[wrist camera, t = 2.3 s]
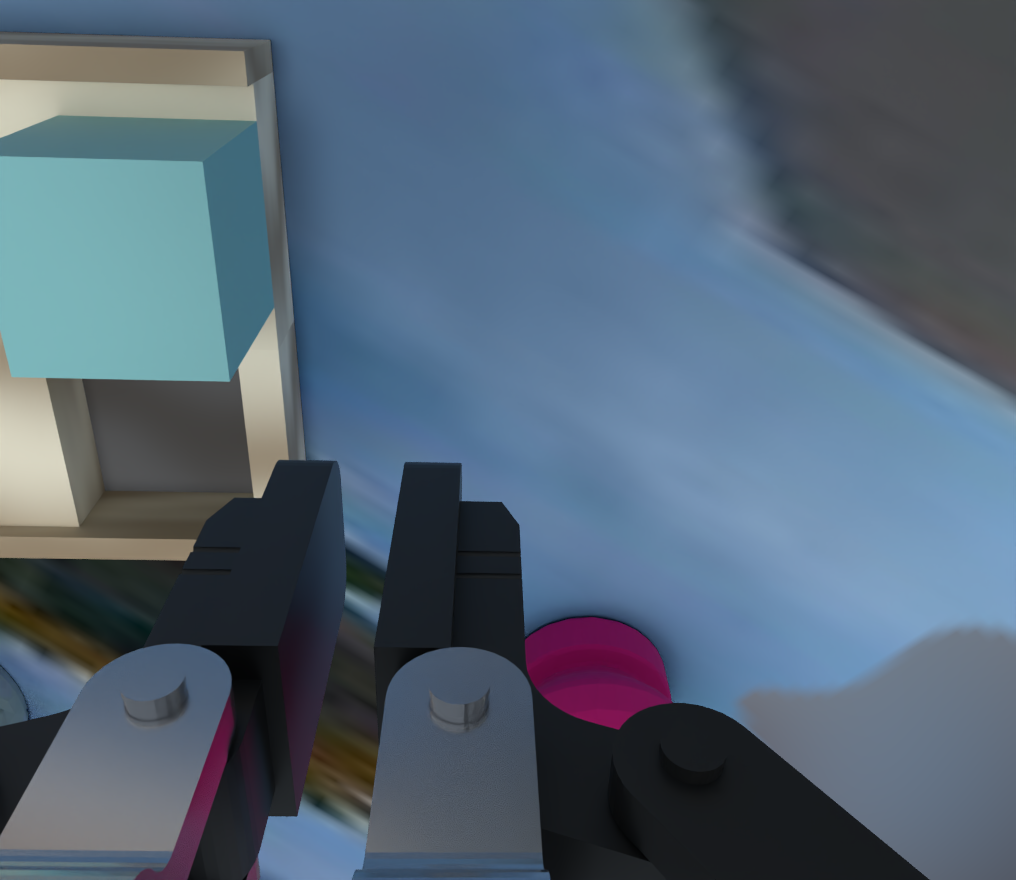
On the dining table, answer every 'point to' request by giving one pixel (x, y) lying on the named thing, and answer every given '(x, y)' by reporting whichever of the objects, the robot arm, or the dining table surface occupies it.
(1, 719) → the grey green cup
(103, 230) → the teal block
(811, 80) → the dining table surface
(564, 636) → the pepper mill
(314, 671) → the robot arm
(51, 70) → the tray
